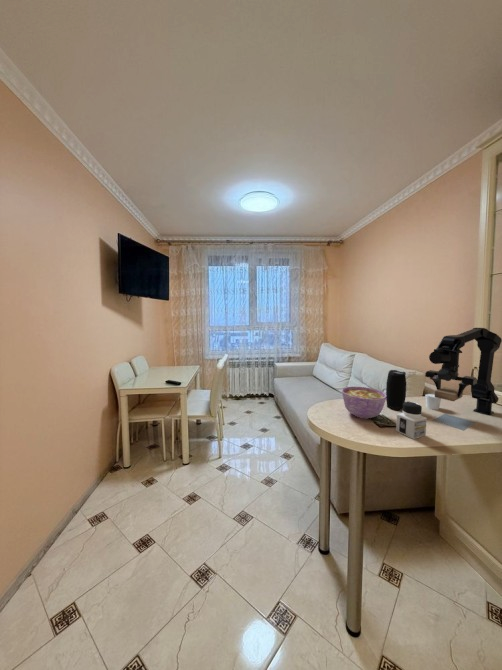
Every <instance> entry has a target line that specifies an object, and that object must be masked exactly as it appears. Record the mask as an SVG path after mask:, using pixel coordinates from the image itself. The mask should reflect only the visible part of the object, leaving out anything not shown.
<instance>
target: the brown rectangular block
mask: <svg viewBox="0 0 502 670" xmlns="http://www.w3.org/2000/svg"><path fill="white" fill-rule="evenodd" d="M458 390H459V389H455V388H451V387H446V386H444V387H441V389H438V390H437V389H436V390H434V394H435V397H437V398H441V400H446V401H450V402H455V401H457V400H459V399H461V398H463V395H464V393H463V392H464V391H463V392H462V394H461V395H460V397H458Z"/></svg>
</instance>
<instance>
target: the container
mask: <svg viewBox="0 0 502 670" xmlns="http://www.w3.org/2000/svg"><path fill="white" fill-rule="evenodd" d="M422 410H423V409H422V405H421V404H419V403H417V402H414V401H405V402H404V403H403V408H402V412H399V413H397V414H396V424H395V432H397V433H399V434H401V435H403V434H404V436H405V435H406V437H407V438H411V439H412V440H415V439H419V438H422V437H425V436H426V435H427V419H428V418H427V417H425V416H423V415H422Z"/></svg>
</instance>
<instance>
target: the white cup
mask: <svg viewBox="0 0 502 670" xmlns="http://www.w3.org/2000/svg"><path fill="white" fill-rule="evenodd" d="M424 395H425V408H427V409H429V410H433V411H434V410H435V411H439V410H440V407H441V401H442V399H441V398H437V397H435V393H426V394H424Z"/></svg>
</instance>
